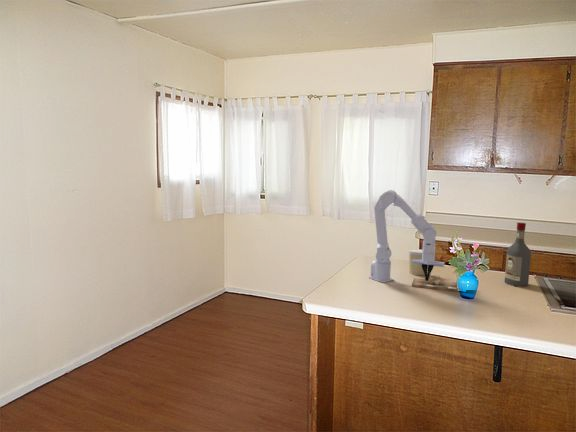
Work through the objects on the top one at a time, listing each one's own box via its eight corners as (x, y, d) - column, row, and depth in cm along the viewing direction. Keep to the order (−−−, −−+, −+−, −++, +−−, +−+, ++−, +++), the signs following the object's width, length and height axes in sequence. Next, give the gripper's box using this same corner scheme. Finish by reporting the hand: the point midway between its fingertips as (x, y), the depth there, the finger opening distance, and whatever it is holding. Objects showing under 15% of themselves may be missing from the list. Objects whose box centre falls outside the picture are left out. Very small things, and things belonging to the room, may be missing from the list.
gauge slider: (428, 285, 204) (429, 278, 203) (429, 280, 211) (430, 274, 211) (437, 286, 202) (438, 279, 202) (438, 281, 210) (439, 275, 209)
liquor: (515, 280, 219) (521, 221, 215) (531, 285, 211) (536, 224, 207) (501, 282, 216) (506, 221, 212) (516, 287, 208) (521, 224, 204)
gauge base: (411, 286, 206) (412, 276, 205) (414, 279, 217) (414, 270, 217) (466, 292, 198) (467, 282, 197) (466, 285, 209) (466, 275, 208)
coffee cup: (428, 275, 226) (429, 252, 224) (410, 275, 226) (411, 252, 224) (423, 271, 235) (424, 249, 233) (405, 270, 235) (406, 248, 233)
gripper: (411, 252, 206) (410, 280, 208) (444, 255, 201) (442, 284, 203) (413, 249, 213) (411, 276, 215) (445, 252, 208) (443, 280, 209)
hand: (426, 280), depth 209 cm, fingers closed
